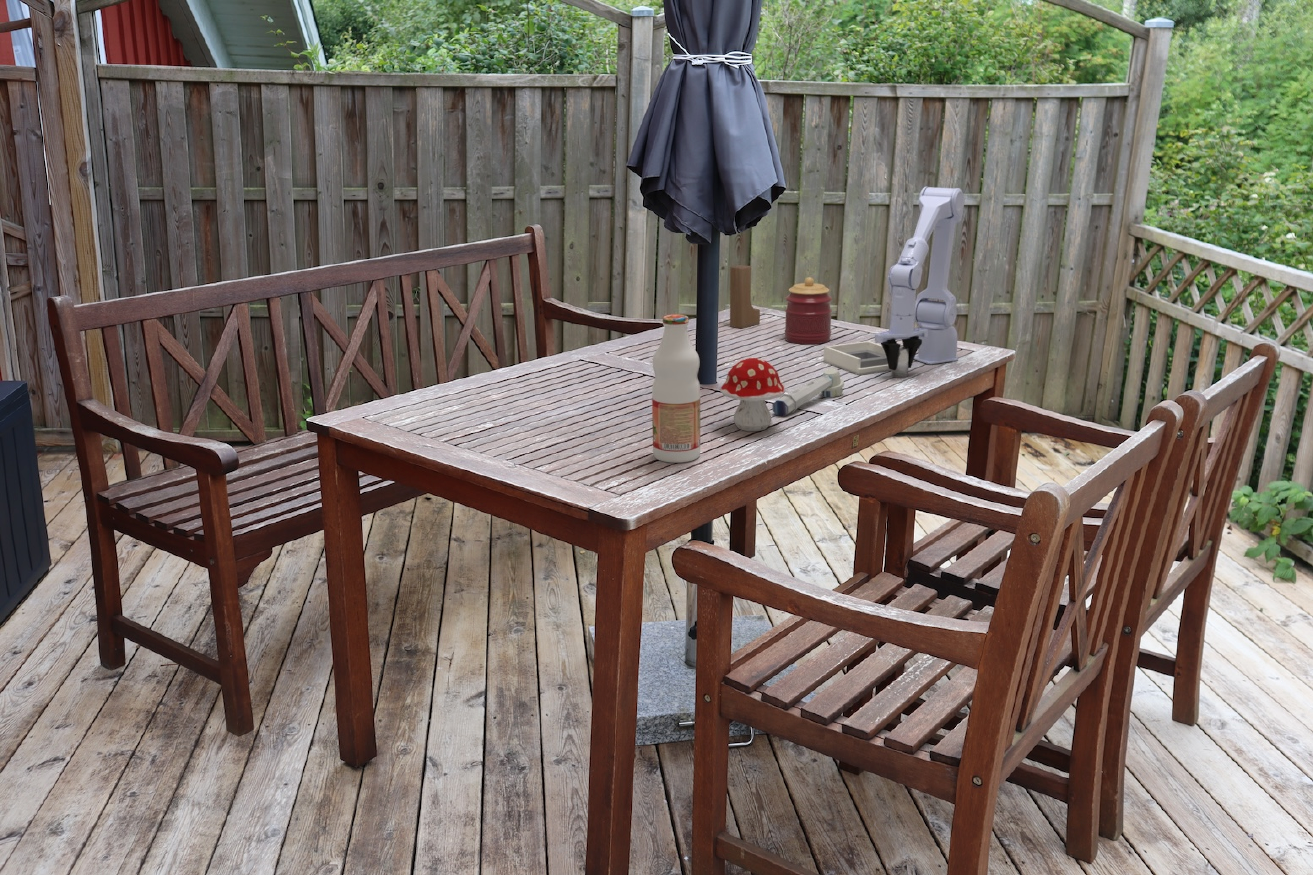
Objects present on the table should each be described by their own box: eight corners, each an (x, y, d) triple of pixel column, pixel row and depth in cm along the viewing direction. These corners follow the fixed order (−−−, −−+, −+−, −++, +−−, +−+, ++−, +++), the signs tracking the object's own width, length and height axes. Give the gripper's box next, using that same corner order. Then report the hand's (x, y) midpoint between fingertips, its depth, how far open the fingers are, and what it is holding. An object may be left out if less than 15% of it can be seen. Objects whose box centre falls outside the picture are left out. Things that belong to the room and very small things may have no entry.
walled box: (868, 355, 310) (868, 340, 309) (905, 368, 297) (906, 353, 295) (823, 361, 305) (823, 346, 303) (859, 375, 291) (859, 359, 290)
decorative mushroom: (764, 441, 241) (765, 369, 236) (707, 430, 248) (707, 361, 244) (796, 424, 251) (798, 356, 247) (741, 414, 259) (741, 348, 255)
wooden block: (748, 322, 353) (749, 262, 348) (760, 324, 350) (761, 264, 345) (729, 327, 347) (729, 266, 342) (741, 329, 344) (741, 267, 339)
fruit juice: (675, 467, 225) (674, 323, 217) (643, 456, 232) (640, 316, 224) (710, 456, 232) (710, 316, 223) (677, 445, 238) (676, 309, 230)
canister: (786, 345, 324) (787, 281, 318) (782, 334, 336) (784, 273, 331) (833, 344, 323) (835, 281, 318) (828, 334, 336) (830, 273, 330)
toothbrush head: (768, 398, 258) (828, 361, 275) (770, 425, 261) (829, 387, 278) (789, 401, 255) (847, 364, 272) (790, 429, 258) (848, 391, 275)
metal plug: (901, 373, 293) (902, 345, 290) (911, 376, 289) (912, 348, 287) (888, 374, 291) (889, 347, 289) (897, 378, 287) (899, 350, 285)
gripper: (916, 308, 292) (913, 361, 296) (868, 313, 286) (866, 368, 290) (934, 313, 286) (931, 367, 290) (885, 319, 280) (883, 374, 284)
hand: (899, 368), depth 289 cm, fingers closed on metal plug, 4 cm apart
